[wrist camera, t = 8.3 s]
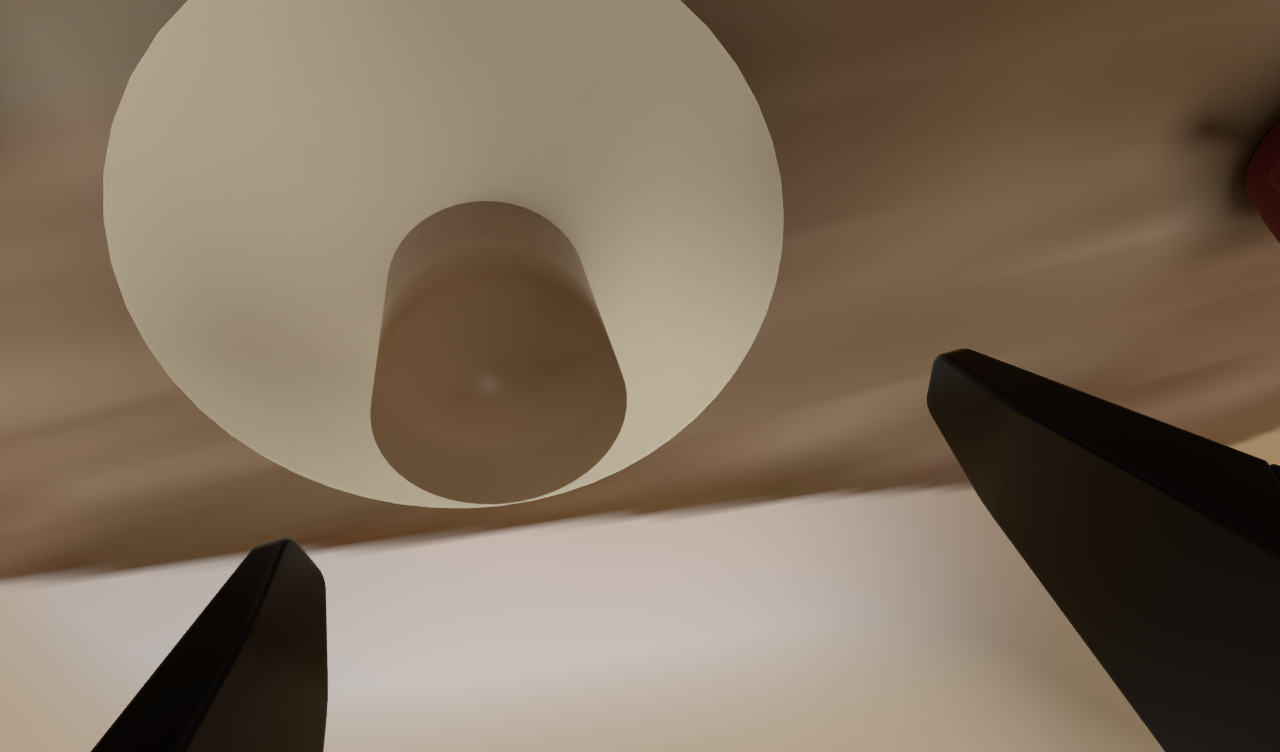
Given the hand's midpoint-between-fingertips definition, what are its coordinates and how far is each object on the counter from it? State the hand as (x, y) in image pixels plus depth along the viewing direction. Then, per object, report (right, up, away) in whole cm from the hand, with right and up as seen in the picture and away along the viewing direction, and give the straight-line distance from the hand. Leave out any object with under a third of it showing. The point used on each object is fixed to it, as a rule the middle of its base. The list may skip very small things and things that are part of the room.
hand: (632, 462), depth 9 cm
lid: (-3, +3, +5) cm, 7 cm away
